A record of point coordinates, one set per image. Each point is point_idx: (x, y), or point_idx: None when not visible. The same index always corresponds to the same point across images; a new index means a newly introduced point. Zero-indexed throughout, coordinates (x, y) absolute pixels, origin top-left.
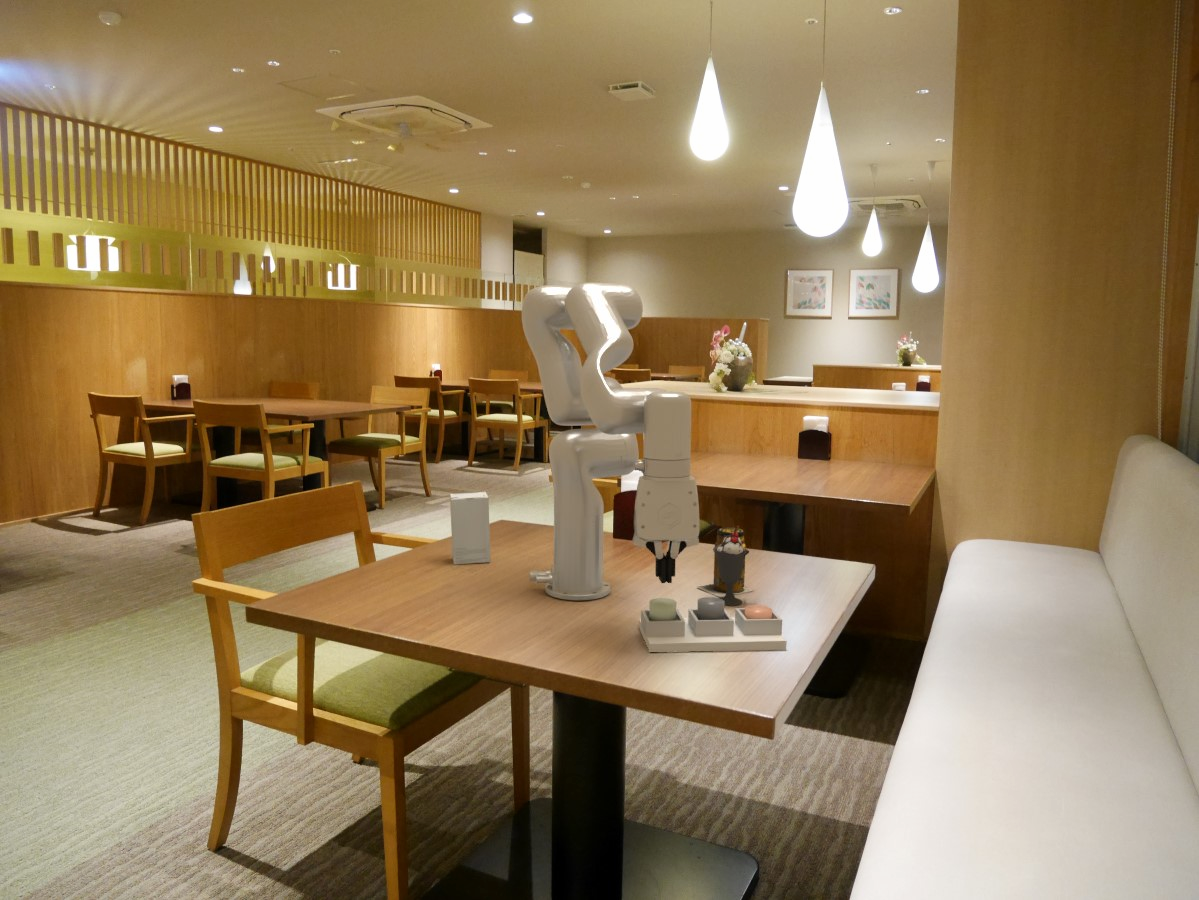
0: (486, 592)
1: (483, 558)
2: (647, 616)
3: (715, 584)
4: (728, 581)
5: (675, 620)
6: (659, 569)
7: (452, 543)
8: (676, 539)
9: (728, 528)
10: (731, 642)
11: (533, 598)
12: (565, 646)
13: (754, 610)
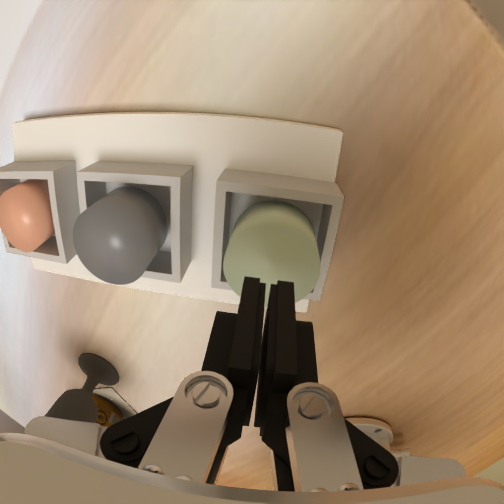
0: (453, 434)
1: None
2: None
3: (116, 416)
4: (84, 393)
5: (237, 219)
6: (301, 342)
7: None
8: (166, 489)
9: None
10: (112, 114)
11: (416, 423)
12: (491, 221)
13: (24, 213)
